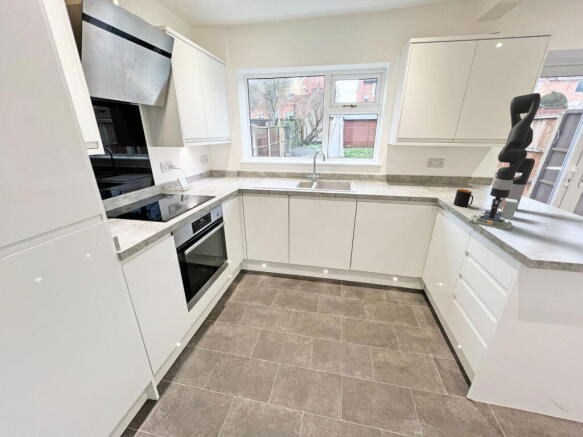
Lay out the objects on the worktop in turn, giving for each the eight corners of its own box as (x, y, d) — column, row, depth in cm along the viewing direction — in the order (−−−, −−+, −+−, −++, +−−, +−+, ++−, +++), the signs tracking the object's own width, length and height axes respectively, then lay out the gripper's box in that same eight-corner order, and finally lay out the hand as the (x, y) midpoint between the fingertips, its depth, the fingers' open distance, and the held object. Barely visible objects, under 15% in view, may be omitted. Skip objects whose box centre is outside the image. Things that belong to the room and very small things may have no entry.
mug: (464, 208, 154) (469, 193, 151) (450, 203, 166) (454, 189, 162) (475, 208, 156) (480, 193, 152) (460, 203, 167) (464, 189, 163)
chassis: (471, 216, 140) (472, 212, 139) (511, 224, 128) (513, 220, 127) (468, 222, 132) (469, 217, 131) (510, 230, 120) (512, 226, 119)
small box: (499, 214, 145) (505, 197, 141) (511, 216, 142) (517, 199, 138) (499, 217, 139) (505, 200, 135) (512, 219, 136) (518, 202, 132)
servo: (480, 218, 134) (483, 207, 132) (501, 222, 128) (505, 211, 126) (479, 220, 131) (482, 209, 129) (501, 224, 125) (505, 213, 123)
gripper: (493, 184, 130) (484, 211, 136) (491, 188, 120) (481, 217, 126) (511, 186, 125) (501, 214, 131) (510, 191, 115) (499, 221, 121)
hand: (492, 216), depth 128 cm, fingers open, 8 cm apart
